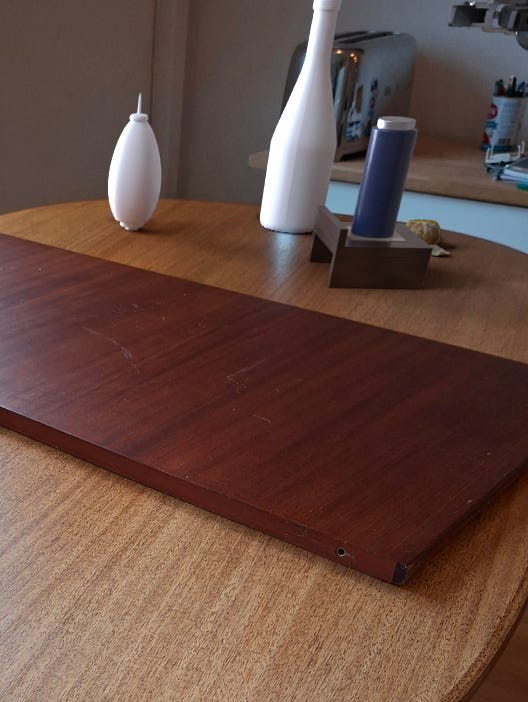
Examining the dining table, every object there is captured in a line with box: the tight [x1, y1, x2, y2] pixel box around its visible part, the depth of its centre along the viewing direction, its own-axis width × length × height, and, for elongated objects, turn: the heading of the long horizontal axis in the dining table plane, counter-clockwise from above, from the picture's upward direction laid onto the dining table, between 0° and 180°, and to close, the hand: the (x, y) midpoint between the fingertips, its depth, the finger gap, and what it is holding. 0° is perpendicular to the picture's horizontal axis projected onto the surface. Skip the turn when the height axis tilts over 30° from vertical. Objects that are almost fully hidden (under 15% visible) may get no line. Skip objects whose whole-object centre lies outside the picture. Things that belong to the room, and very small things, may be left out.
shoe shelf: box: [307, 205, 433, 290], centre depth 116 cm, size 12×13×7 cm
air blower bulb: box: [107, 92, 162, 231], centre depth 130 cm, size 8×8×18 cm
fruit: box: [404, 218, 451, 256], centre depth 127 cm, size 8×8×4 cm
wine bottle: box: [259, 0, 343, 234], centre depth 128 cm, size 10×10×30 cm
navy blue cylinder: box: [351, 115, 419, 238], centre depth 111 cm, size 5×5×13 cm
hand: (481, 18), depth 105 cm, fingers open, 8 cm apart
